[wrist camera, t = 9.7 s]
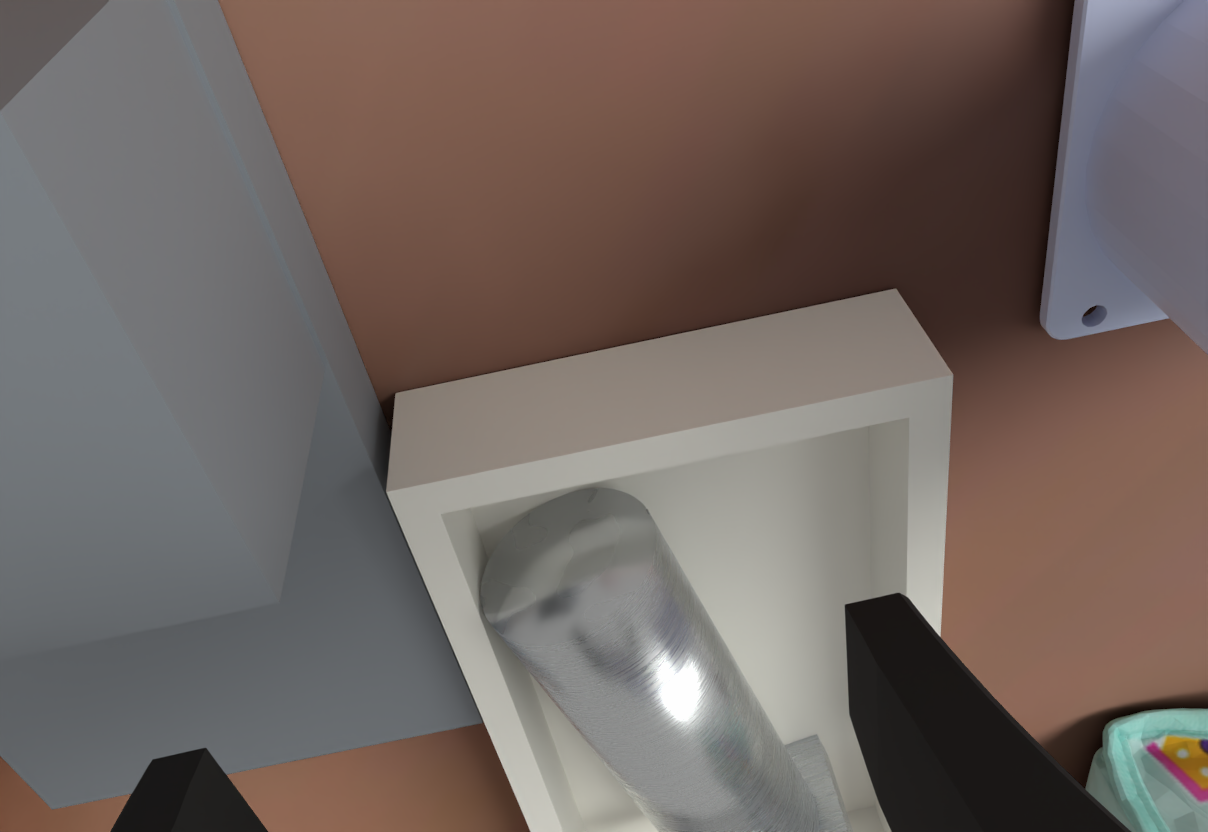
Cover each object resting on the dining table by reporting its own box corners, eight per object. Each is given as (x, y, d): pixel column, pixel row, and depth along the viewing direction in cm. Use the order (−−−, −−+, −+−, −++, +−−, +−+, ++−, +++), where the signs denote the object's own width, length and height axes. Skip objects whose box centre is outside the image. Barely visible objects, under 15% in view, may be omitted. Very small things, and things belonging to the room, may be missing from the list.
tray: (896, 288, 21) (953, 374, 18) (893, 797, 33) (927, 890, 30) (395, 393, 21) (386, 491, 19) (575, 860, 33) (584, 957, 31)
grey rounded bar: (455, 538, 23) (454, 681, 20) (666, 453, 22) (700, 588, 19) (666, 809, 31) (689, 943, 28) (828, 755, 30) (870, 886, 27)
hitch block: (-500, 78, 16) (-1101, 350, 10) (187, -74, 15) (10, 108, 9) (76, 740, 27) (-37, 1058, 21) (481, 658, 26) (486, 956, 20)
